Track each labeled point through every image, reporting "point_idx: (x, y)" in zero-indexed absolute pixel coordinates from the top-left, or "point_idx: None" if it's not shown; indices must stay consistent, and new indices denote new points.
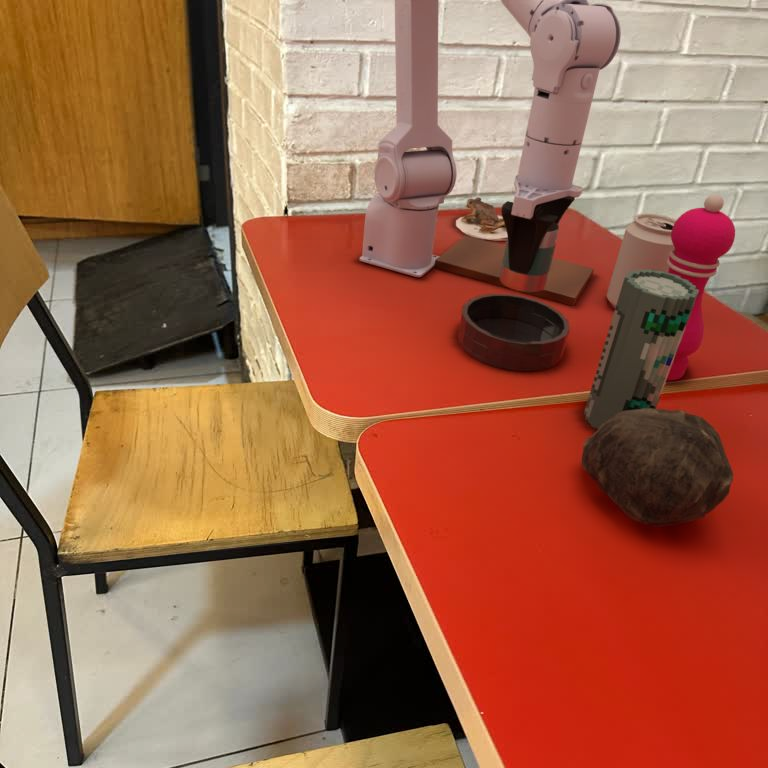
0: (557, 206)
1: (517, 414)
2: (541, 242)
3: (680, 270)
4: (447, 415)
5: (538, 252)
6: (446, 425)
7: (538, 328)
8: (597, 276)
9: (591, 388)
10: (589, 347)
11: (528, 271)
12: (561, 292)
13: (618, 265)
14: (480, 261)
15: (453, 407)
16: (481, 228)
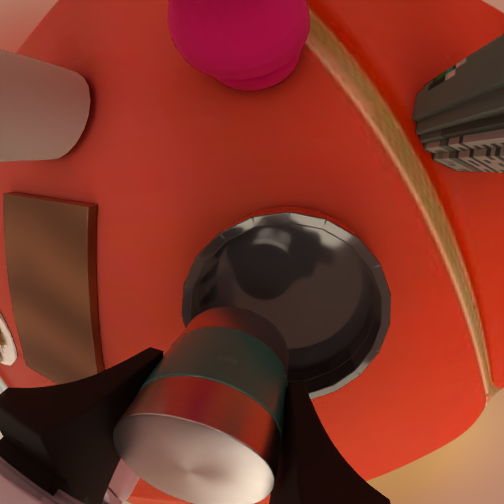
0: (76, 445)
1: (477, 263)
2: (296, 440)
3: None
4: (485, 338)
5: (277, 410)
6: (499, 333)
7: (218, 258)
8: (10, 184)
9: (478, 171)
10: (233, 159)
11: (305, 387)
12: (82, 231)
13: (21, 152)
14: (67, 354)
15: (473, 336)
16: (2, 344)
